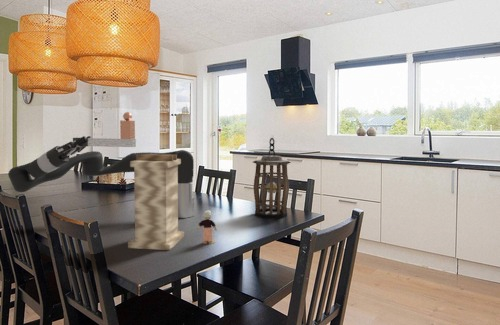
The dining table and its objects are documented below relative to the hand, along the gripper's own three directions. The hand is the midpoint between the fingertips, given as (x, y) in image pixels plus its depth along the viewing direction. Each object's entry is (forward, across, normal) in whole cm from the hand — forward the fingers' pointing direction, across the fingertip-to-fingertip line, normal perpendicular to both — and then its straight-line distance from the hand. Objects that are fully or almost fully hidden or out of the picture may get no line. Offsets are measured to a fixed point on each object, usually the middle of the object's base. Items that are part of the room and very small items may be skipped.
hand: (88, 138), depth 146 cm
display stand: (+4, 0, -48) cm, 48 cm away
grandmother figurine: (+21, -2, -58) cm, 62 cm away
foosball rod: (+4, 0, -6) cm, 7 cm away
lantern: (+39, -54, -69) cm, 96 cm away
